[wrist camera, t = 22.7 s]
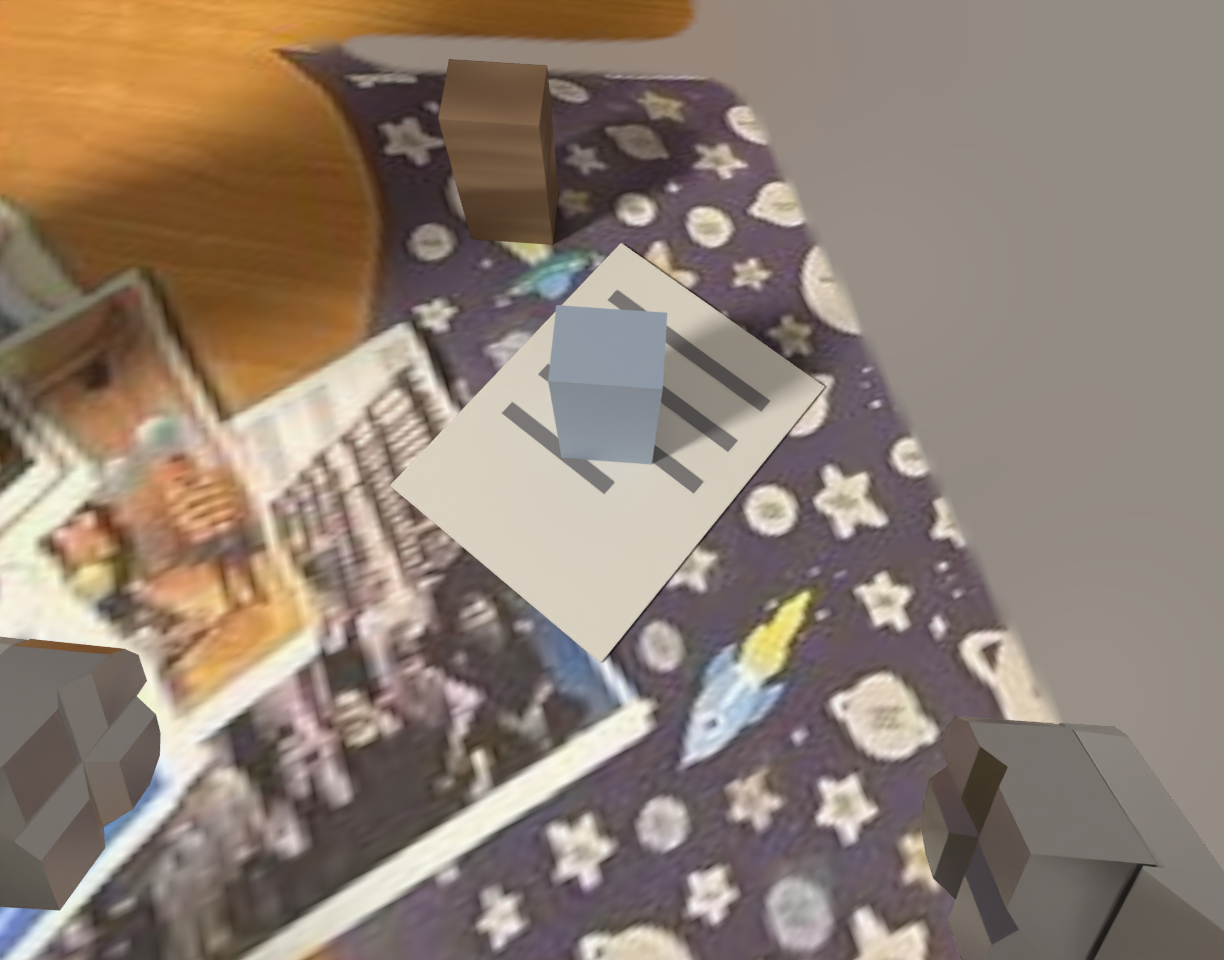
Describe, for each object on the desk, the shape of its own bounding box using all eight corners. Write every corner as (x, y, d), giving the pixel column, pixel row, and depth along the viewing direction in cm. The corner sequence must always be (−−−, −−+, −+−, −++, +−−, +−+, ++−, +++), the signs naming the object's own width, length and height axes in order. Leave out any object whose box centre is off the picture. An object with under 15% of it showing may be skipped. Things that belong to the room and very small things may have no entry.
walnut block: (552, 244, 39) (538, 125, 32) (471, 238, 40) (438, 118, 32) (559, 193, 40) (547, 65, 33) (479, 187, 41) (449, 59, 33)
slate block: (651, 464, 36) (662, 389, 28) (561, 457, 36) (548, 381, 28) (655, 402, 37) (667, 312, 29) (567, 395, 37) (556, 305, 29)
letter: (390, 486, 36) (389, 485, 35) (621, 244, 39) (621, 242, 39) (600, 663, 33) (600, 662, 33) (823, 388, 37) (824, 386, 37)
